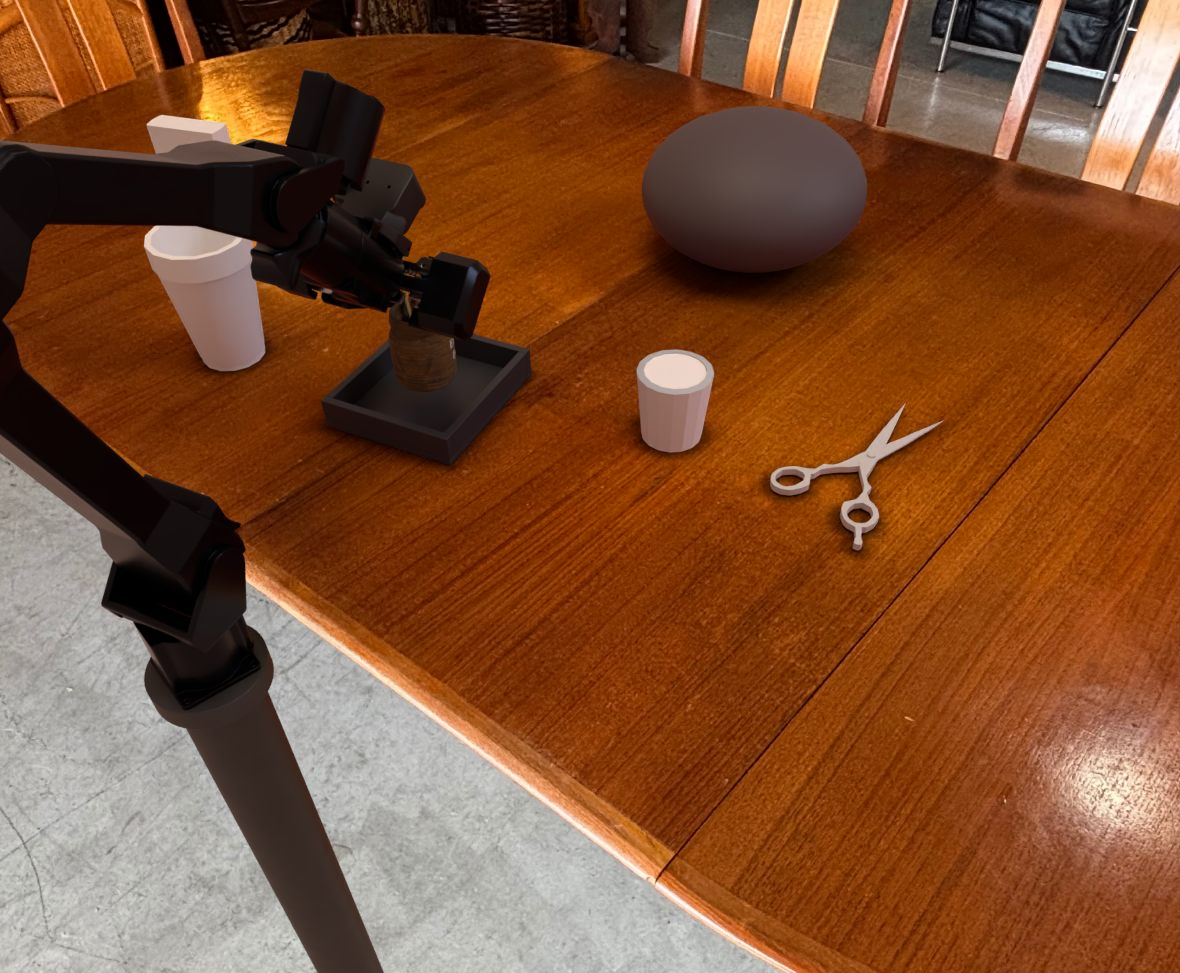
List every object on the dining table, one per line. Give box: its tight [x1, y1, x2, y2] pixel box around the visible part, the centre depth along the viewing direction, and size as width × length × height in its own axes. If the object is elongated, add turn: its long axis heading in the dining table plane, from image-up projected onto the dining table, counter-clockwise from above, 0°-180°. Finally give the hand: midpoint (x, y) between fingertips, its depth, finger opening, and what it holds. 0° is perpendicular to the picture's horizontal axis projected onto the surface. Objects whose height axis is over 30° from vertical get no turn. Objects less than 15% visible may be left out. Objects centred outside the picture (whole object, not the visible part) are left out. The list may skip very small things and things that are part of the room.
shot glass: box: [636, 348, 715, 453], centre depth 89 cm, size 7×7×7 cm
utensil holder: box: [388, 258, 457, 392], centre depth 89 cm, size 6×6×12 cm
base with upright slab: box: [146, 114, 232, 154], centre depth 116 cm, size 9×9×12 cm
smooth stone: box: [641, 105, 868, 274], centre depth 109 cm, size 25×25×15 cm
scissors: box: [769, 402, 945, 551], centre depth 88 cm, size 11×1×20 cm
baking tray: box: [320, 333, 532, 466], centre depth 95 cm, size 16×14×3 cm
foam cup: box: [143, 226, 266, 372], centre depth 97 cm, size 10×9×13 cm
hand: (425, 307), depth 89 cm, fingers closed on utensil holder, 5 cm apart
